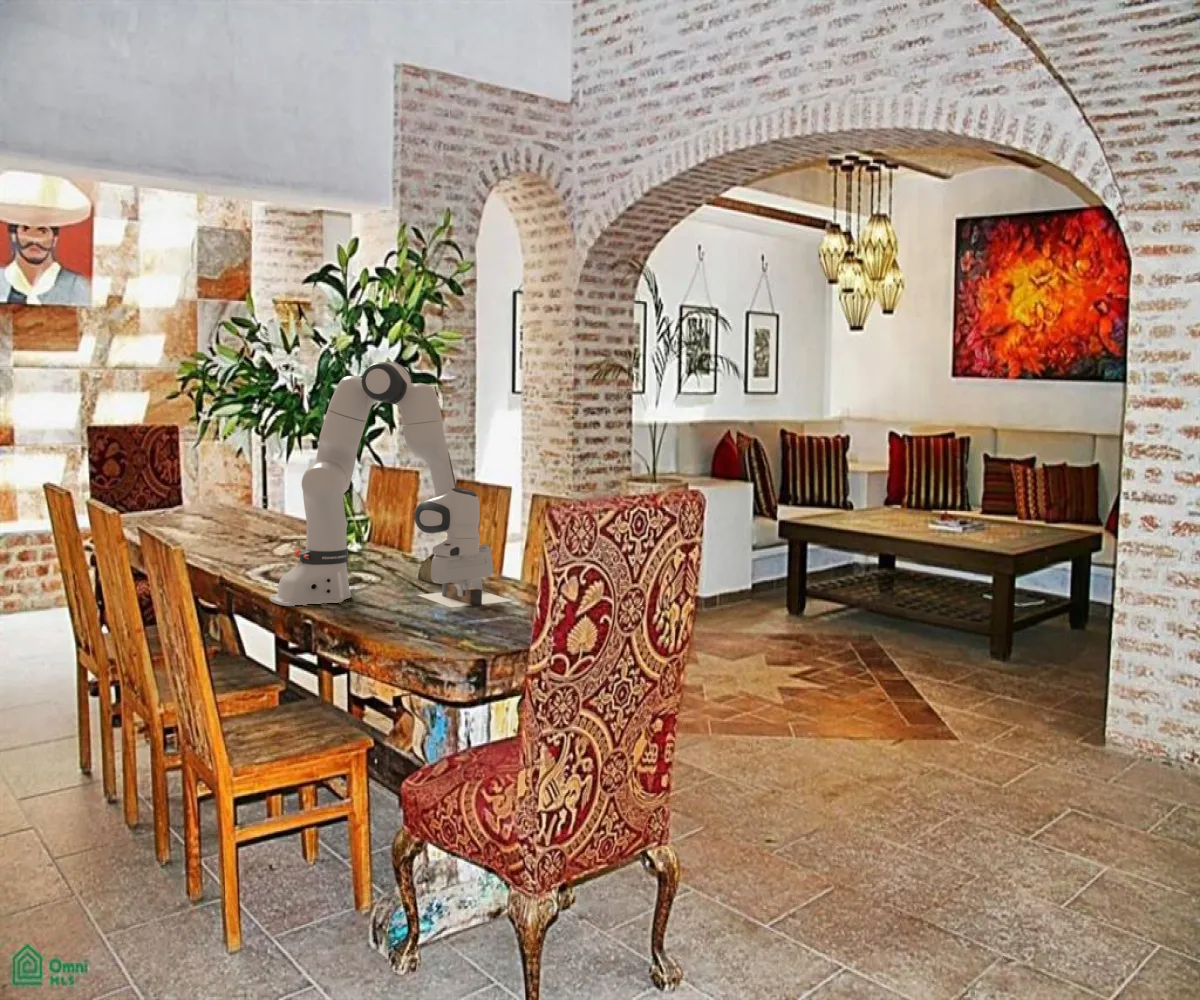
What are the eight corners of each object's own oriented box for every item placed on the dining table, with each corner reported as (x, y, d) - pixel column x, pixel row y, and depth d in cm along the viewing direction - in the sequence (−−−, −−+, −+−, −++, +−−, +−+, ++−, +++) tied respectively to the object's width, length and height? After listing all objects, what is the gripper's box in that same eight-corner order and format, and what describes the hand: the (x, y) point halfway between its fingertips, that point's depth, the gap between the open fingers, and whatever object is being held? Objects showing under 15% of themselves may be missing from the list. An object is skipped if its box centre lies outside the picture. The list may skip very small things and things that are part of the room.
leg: (446, 597, 321) (446, 583, 321) (455, 596, 323) (455, 582, 323) (474, 605, 311) (474, 591, 310) (483, 604, 313) (484, 590, 312)
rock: (408, 573, 349) (415, 575, 340) (424, 551, 351) (431, 552, 342) (435, 593, 352) (443, 595, 343) (451, 571, 354) (459, 572, 345)
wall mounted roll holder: (451, 610, 308) (451, 582, 307) (416, 597, 324) (417, 571, 323) (512, 603, 320) (513, 576, 319) (476, 591, 336) (477, 566, 335)
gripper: (483, 542, 321) (482, 589, 323) (427, 548, 306) (426, 598, 308) (498, 544, 317) (497, 593, 319) (442, 551, 302) (441, 602, 304)
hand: (462, 595), depth 313 cm, fingers closed
